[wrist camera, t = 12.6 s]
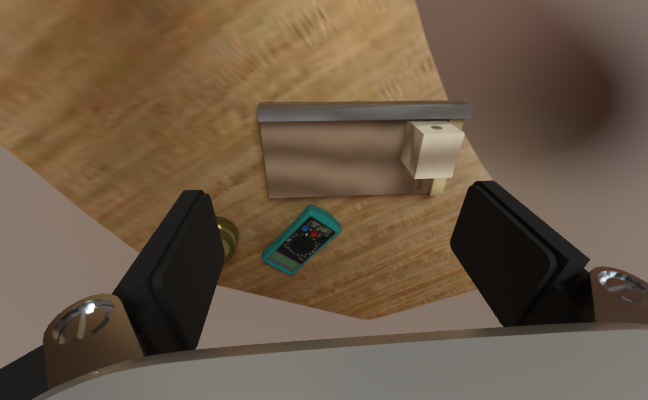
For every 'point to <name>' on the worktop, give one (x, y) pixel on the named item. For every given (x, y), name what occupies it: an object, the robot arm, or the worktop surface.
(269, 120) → the board
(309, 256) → the digital multimeter
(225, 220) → the brass pawn finial
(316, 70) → the worktop surface
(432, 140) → the block with top hole
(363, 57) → the worktop surface
